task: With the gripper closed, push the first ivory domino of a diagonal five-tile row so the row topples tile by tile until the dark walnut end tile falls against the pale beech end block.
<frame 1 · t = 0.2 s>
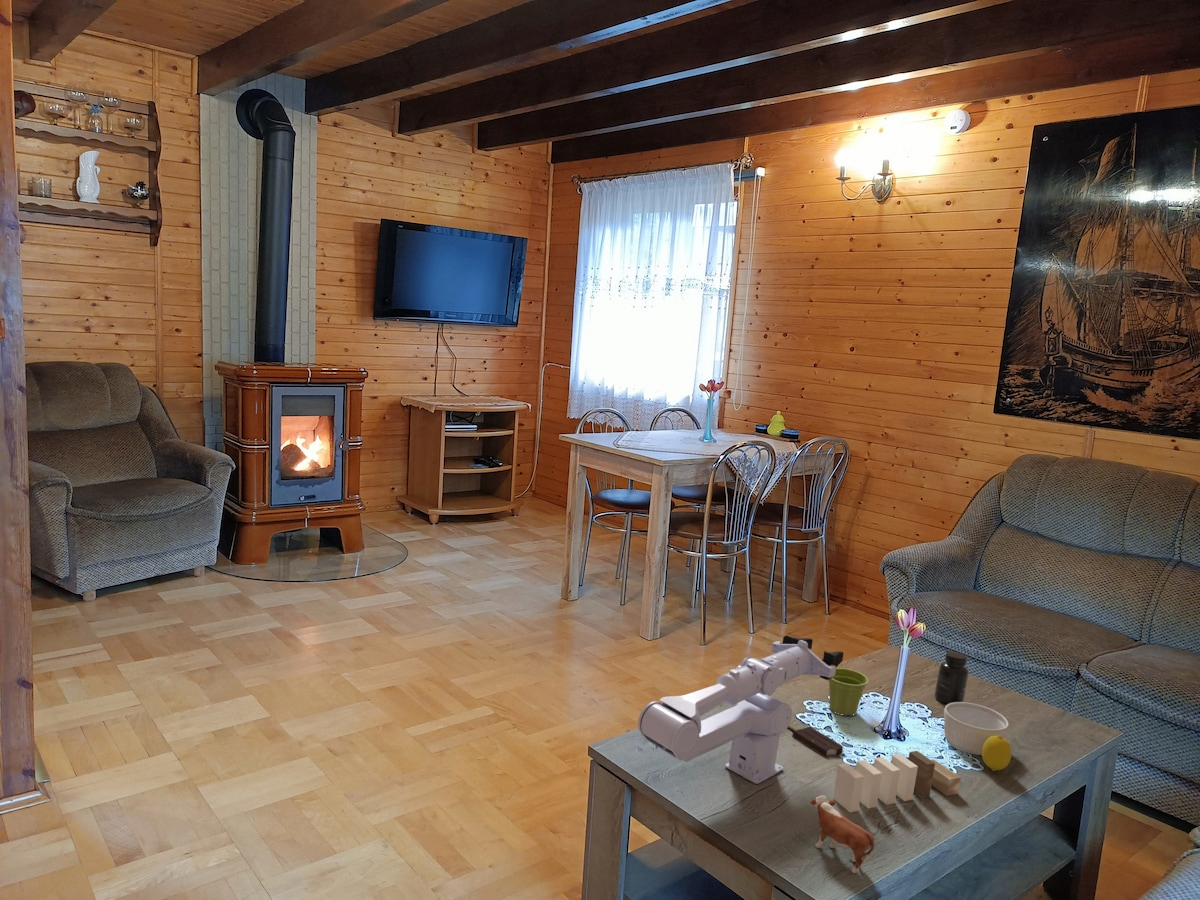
hand: (825, 649, 184), 21 cm above the table, tool horizontal, fingers open, 7 cm apart
ramekin: (970, 744, 194), on the table
domino 4: (899, 793, 170), on the table
ice cream bar: (809, 741, 189), on the table
bull figurine: (835, 854, 149), on the table
domino 2: (863, 800, 166), on the table
end block: (939, 785, 175), on the table
domino 3: (881, 797, 168), on the table
domino 1: (845, 804, 165), on the table
plant pot: (842, 711, 204), on the table
domino 5: (916, 789, 172), on the table
lemon: (993, 771, 183), on the table
supplement bottle: (948, 701, 216), on the table
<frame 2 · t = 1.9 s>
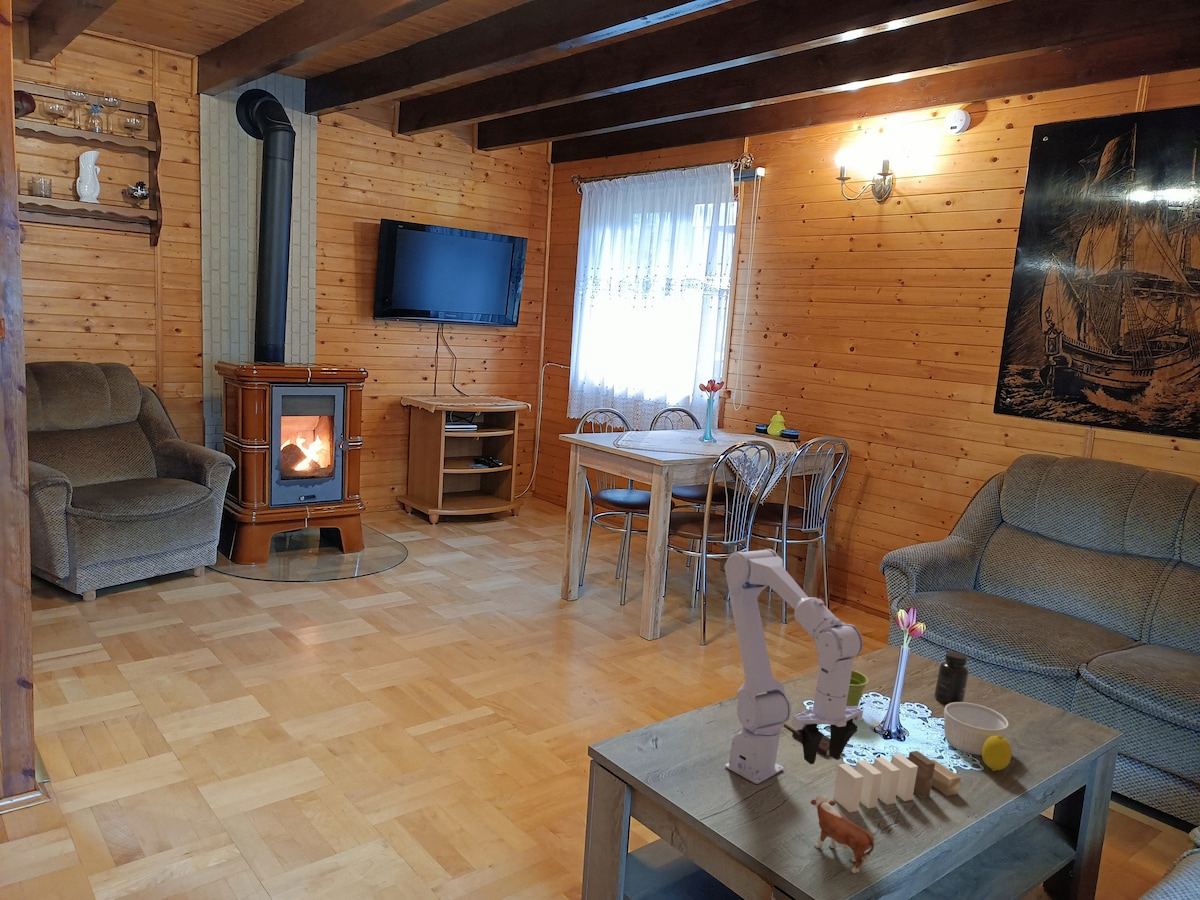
hand: (821, 759, 160), 10 cm above the table, tool pointing down, fingers open, 5 cm apart
nothing on the table moved.
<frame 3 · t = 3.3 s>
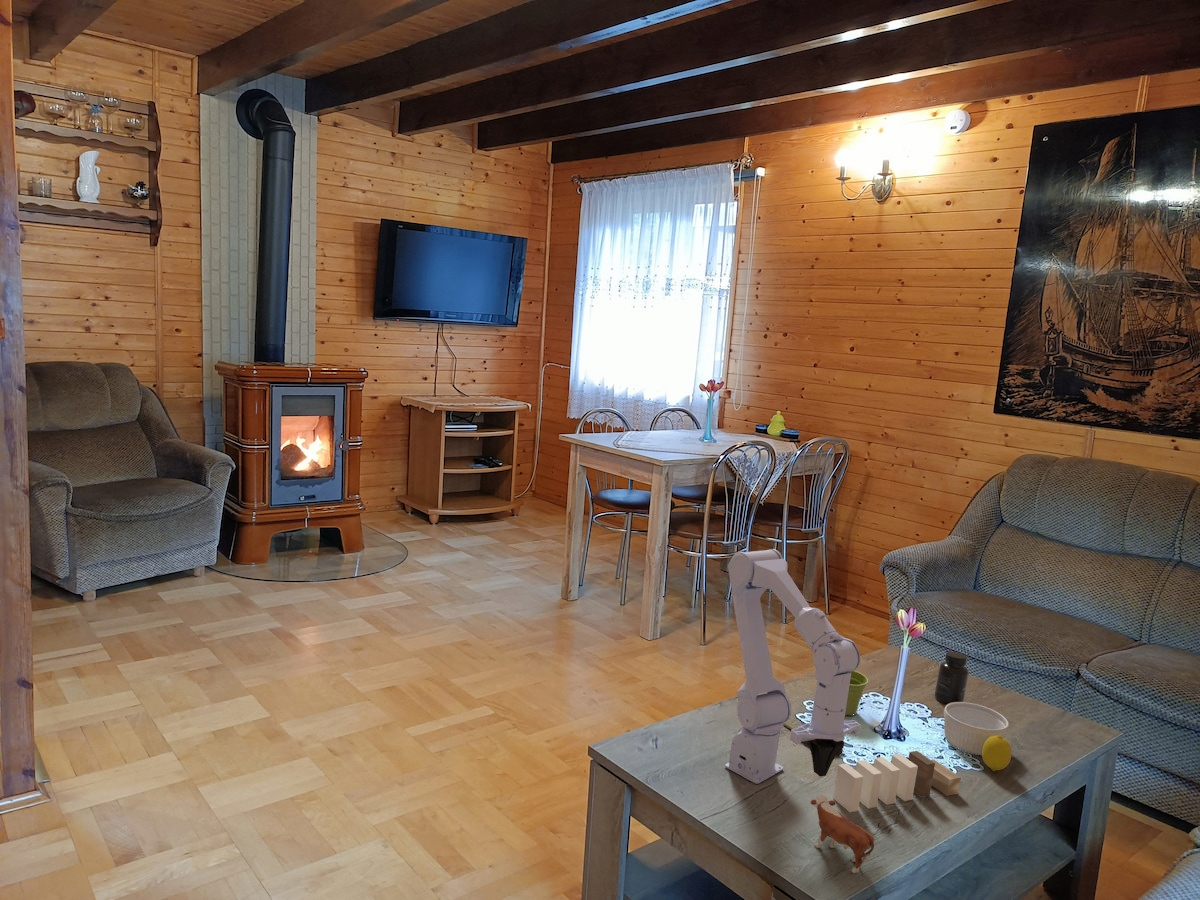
hand: (819, 773, 160), 8 cm above the table, tool pointing down, fingers closed
nothing on the table moved.
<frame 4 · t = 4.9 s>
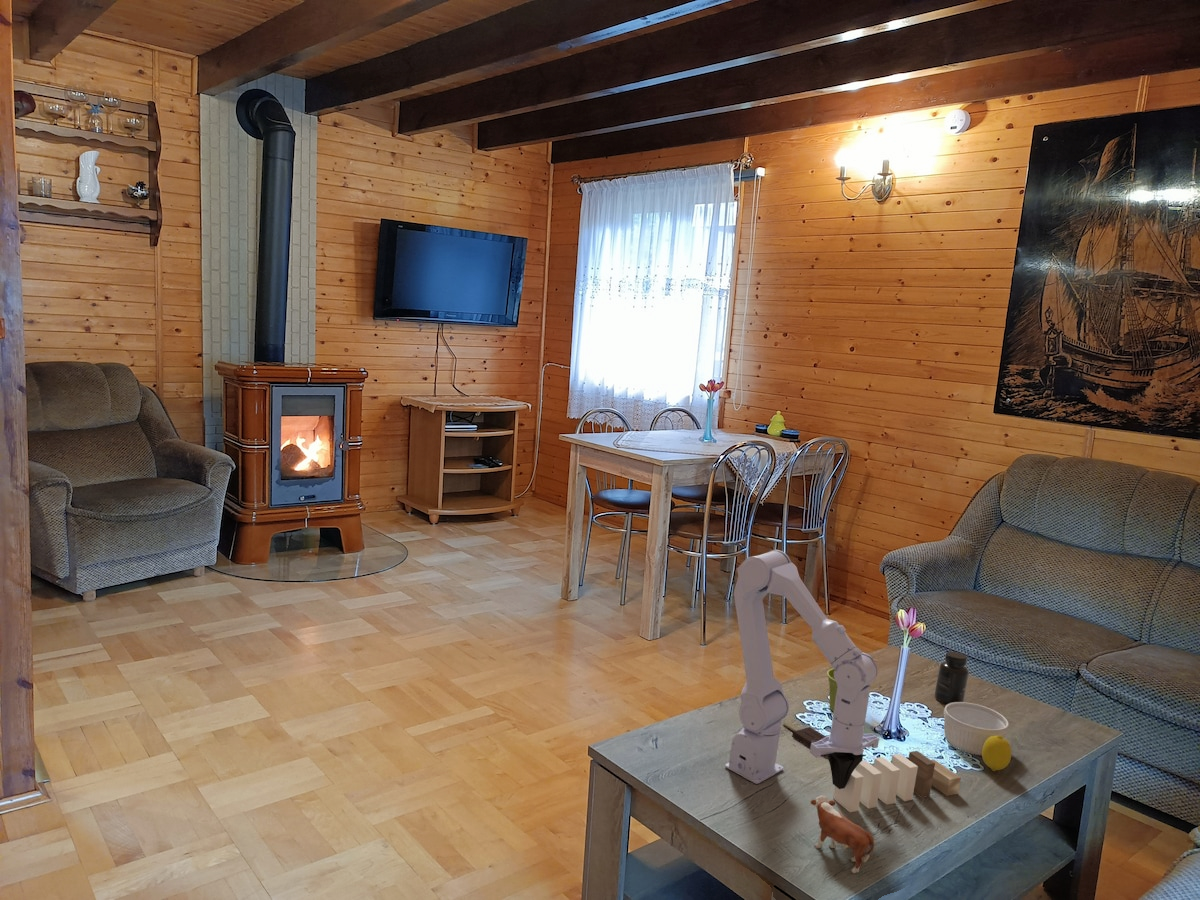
hand: (838, 785, 163), 4 cm above the table, tool pointing down, fingers closed
domino 1: (845, 804, 165), on the table, touching gripper
everything else where it was.
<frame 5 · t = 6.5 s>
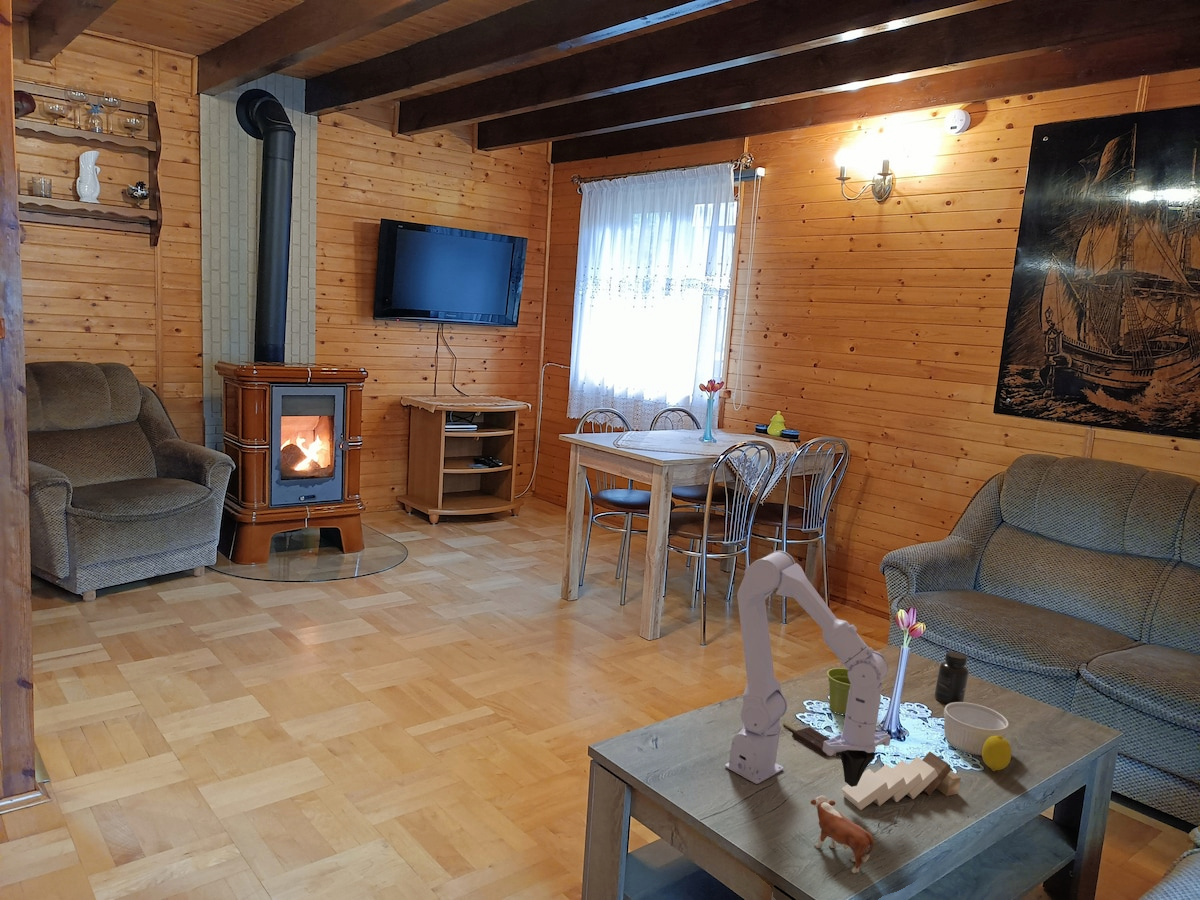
hand: (850, 783, 164), 4 cm above the table, tool pointing down, fingers closed
domino 4: (902, 789, 170), point 1 cm above the table, tilted 54°, touching domino 3, domino 5
domino 2: (869, 795, 167), point 1 cm above the table, tilted 60°, touching domino 3
domino 3: (886, 792, 169), point 1 cm above the table, tilted 57°, touching domino 2, domino 4
domino 1: (851, 799, 165), point 1 cm above the table, tilted 63°
domino 5: (918, 786, 172), point 1 cm above the table, tilted 45°, touching domino 4, end block
everything else where it was.
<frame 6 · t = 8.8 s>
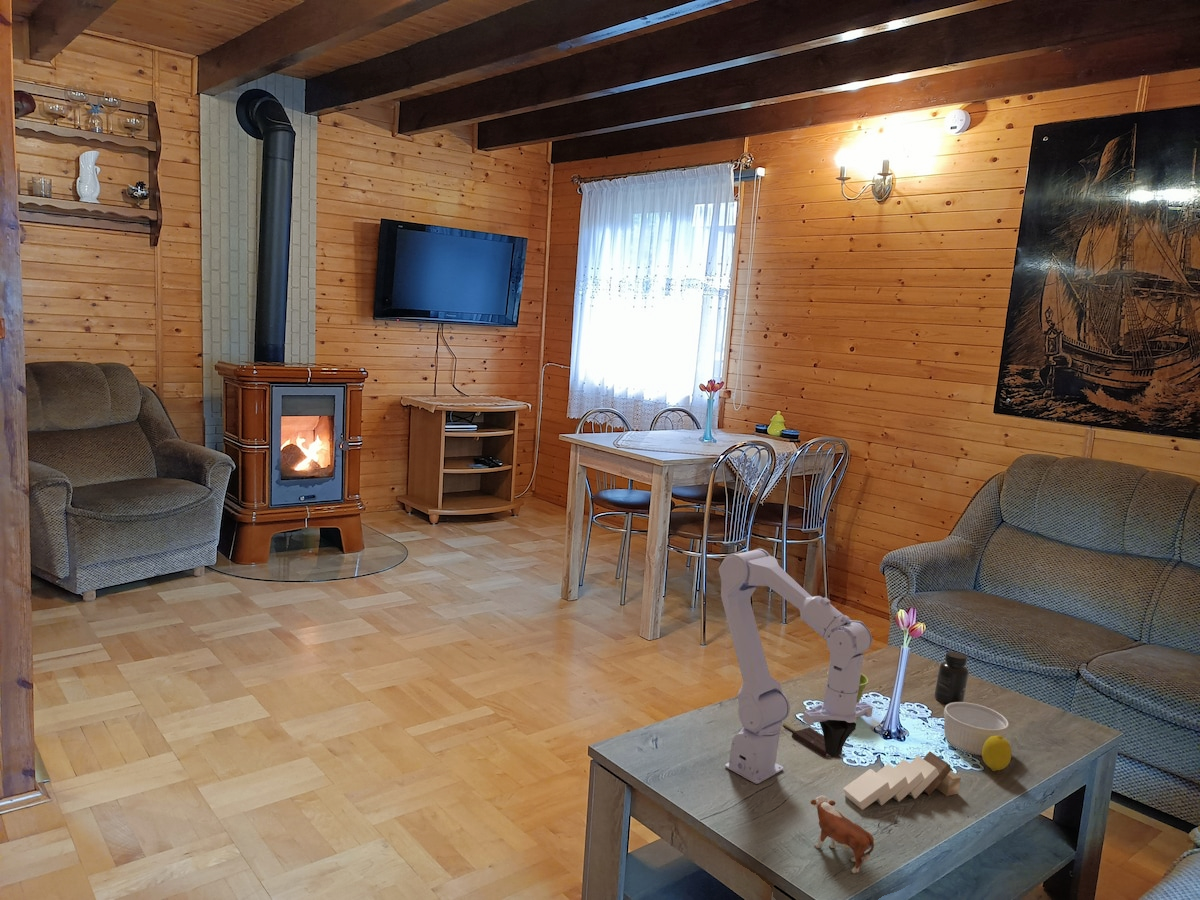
hand: (831, 754, 162), 10 cm above the table, tool pointing down, fingers closed
domino 2: (871, 795, 167), point 1 cm above the table, tilted 59°, touching domino 1, domino 3
domino 1: (852, 799, 165), point 1 cm above the table, tilted 63°, touching domino 2
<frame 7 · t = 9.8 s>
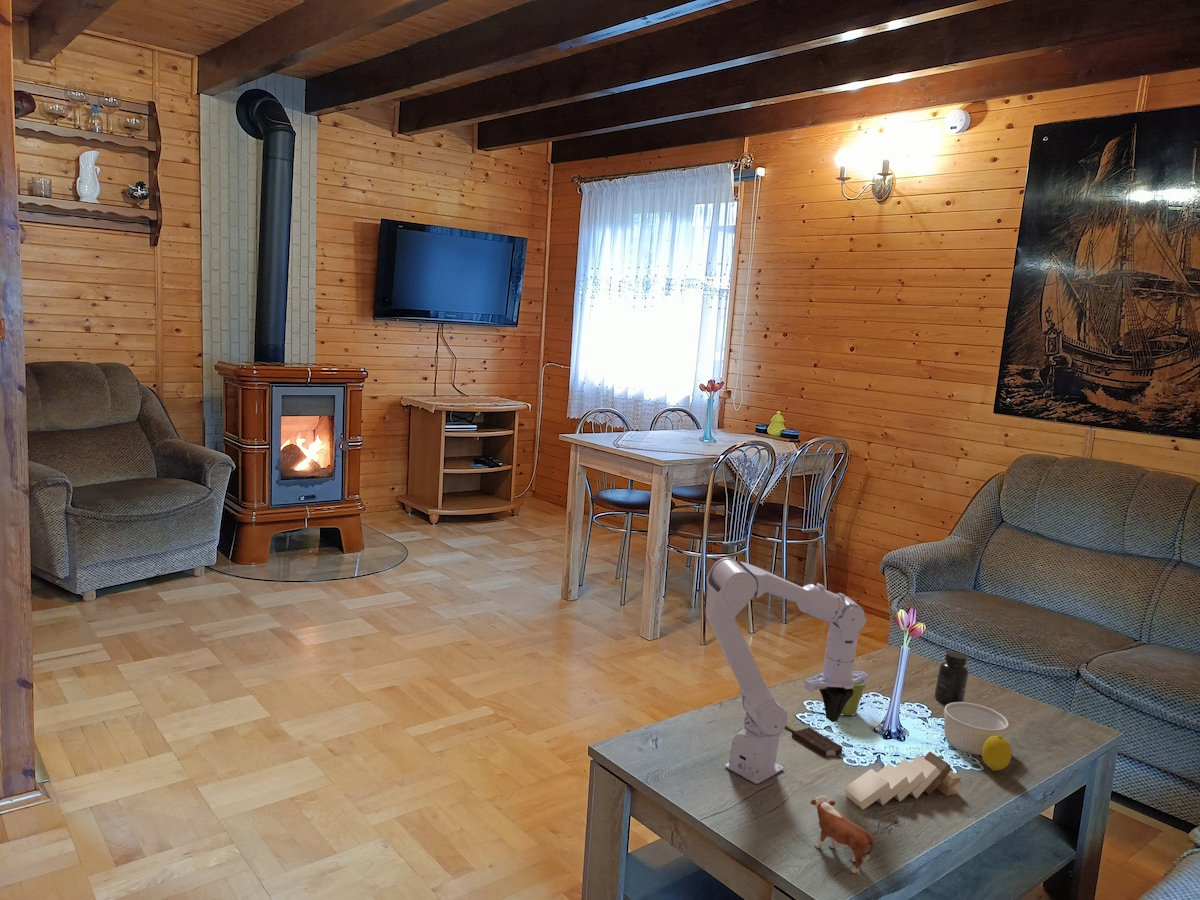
hand: (831, 719, 176), 10 cm above the table, tool pointing down, fingers closed
nothing on the table moved.
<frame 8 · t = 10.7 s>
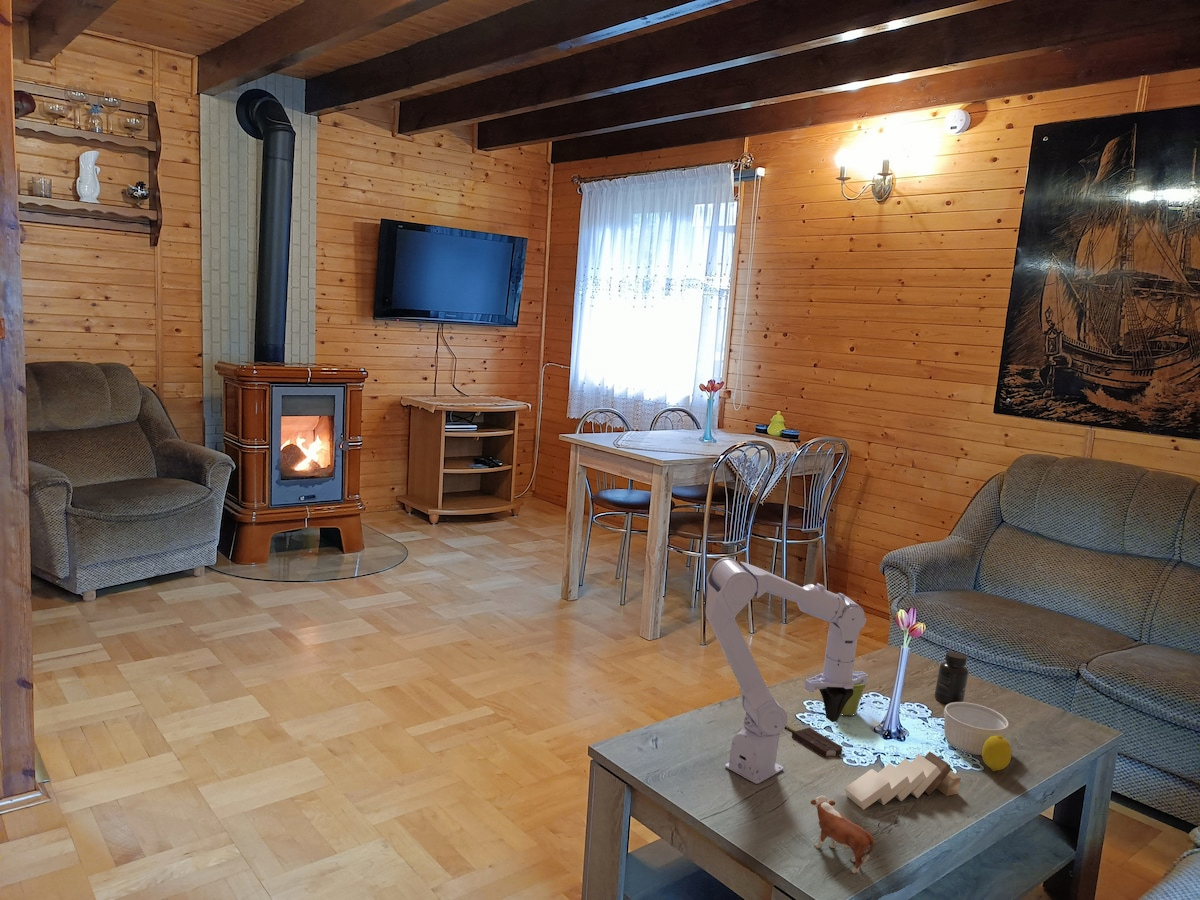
hand: (831, 719, 176), 10 cm above the table, tool pointing down, fingers closed
nothing on the table moved.
at the end: domino 5 tilted 45°; domino 1 tilted 64°; the gripper is holding nothing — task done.
